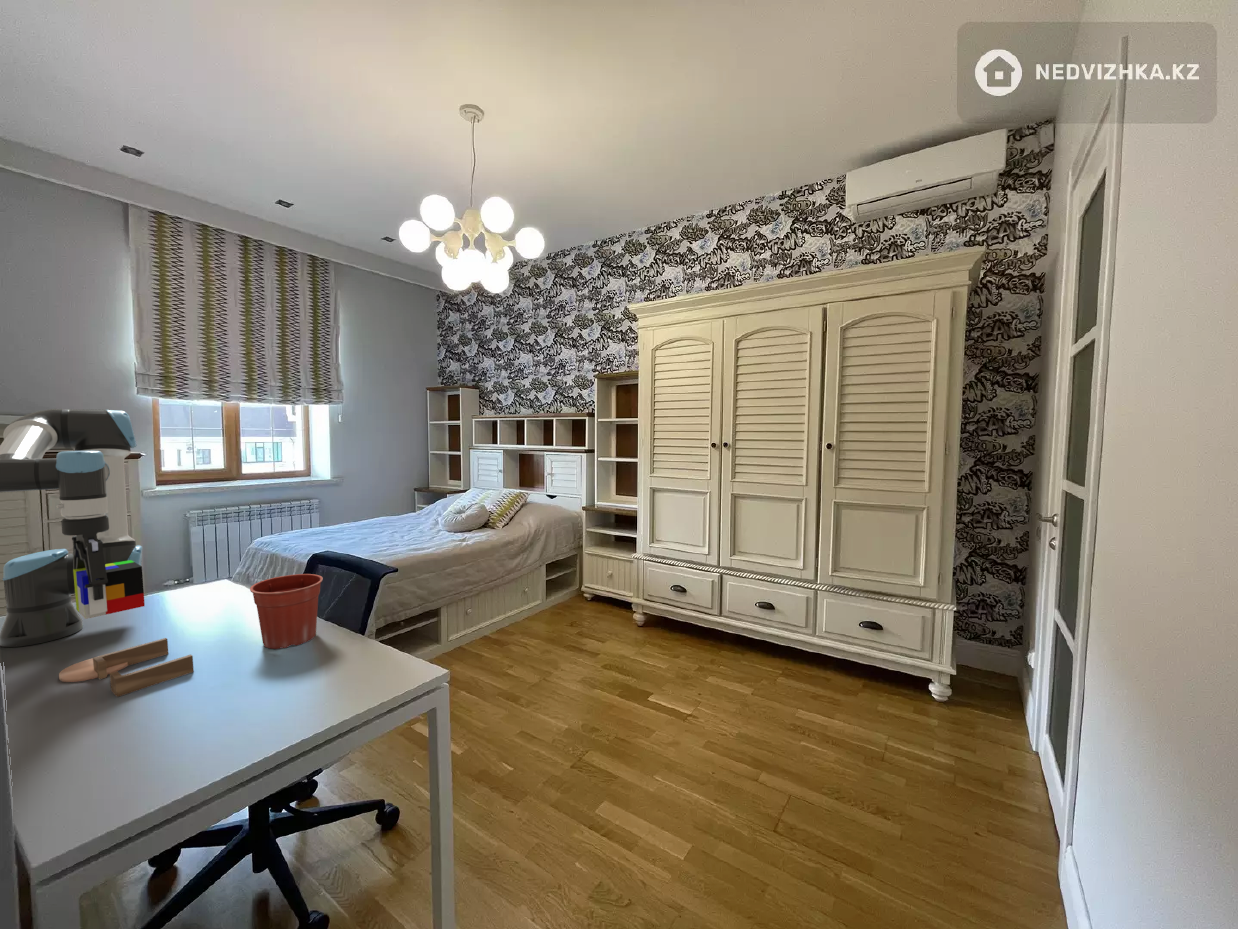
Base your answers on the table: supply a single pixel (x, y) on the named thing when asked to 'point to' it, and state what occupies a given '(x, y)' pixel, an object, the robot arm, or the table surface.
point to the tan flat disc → (85, 671)
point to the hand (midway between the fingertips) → (92, 608)
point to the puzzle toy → (113, 588)
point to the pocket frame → (143, 676)
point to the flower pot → (287, 609)
